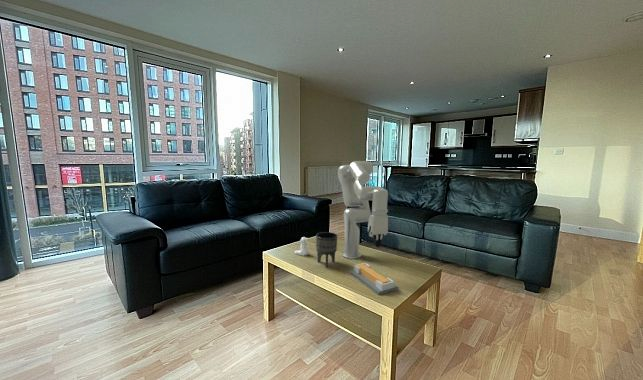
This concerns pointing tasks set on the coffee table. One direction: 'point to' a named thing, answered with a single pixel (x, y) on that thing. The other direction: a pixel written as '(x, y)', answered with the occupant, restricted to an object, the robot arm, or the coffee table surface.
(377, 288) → the cap board
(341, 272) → the coffee table surface
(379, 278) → the slat
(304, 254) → the sitting furry creature
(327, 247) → the planter
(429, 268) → the coffee table surface
